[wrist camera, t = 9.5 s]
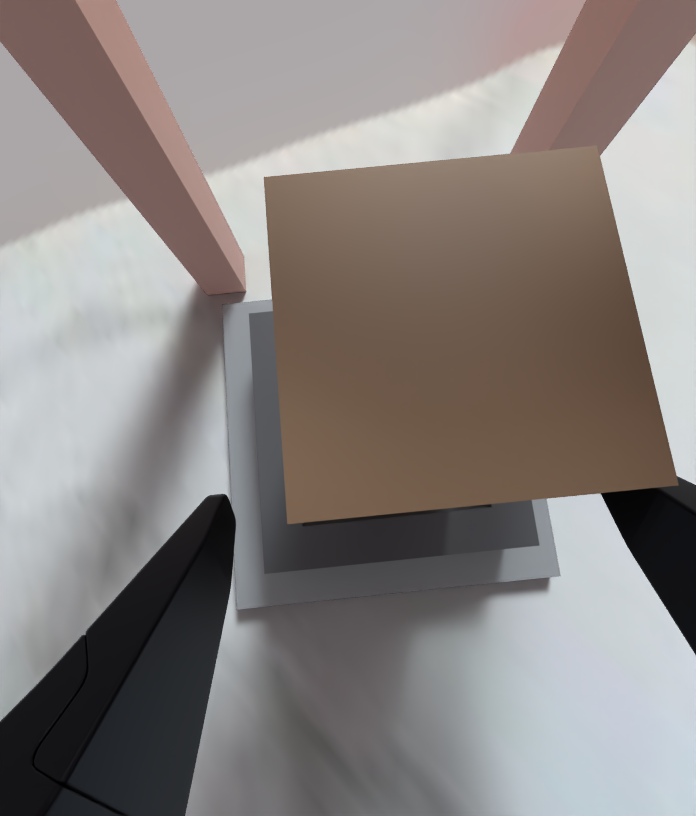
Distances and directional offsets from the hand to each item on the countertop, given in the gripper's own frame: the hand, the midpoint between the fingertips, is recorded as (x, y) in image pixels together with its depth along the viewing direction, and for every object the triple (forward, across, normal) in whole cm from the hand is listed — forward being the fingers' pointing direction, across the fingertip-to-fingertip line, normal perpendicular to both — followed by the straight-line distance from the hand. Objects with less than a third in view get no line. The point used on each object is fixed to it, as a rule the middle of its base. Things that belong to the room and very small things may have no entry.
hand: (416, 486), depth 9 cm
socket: (+8, 0, +5) cm, 9 cm away
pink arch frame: (+11, 0, +1) cm, 12 cm away
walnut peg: (+7, 0, +4) cm, 9 cm away
